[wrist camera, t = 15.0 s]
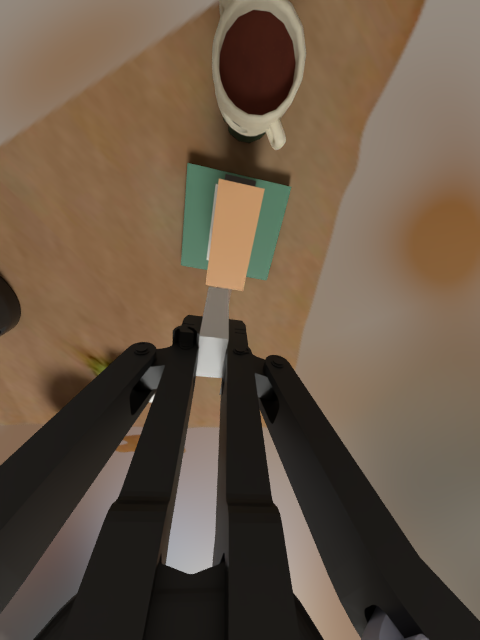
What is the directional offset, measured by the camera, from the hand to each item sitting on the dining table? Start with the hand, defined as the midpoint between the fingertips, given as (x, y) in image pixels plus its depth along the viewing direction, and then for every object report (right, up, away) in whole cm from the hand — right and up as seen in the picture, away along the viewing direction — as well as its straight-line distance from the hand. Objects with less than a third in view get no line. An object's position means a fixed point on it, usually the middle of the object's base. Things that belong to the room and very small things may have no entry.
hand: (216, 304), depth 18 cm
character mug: (+3, +25, +11) cm, 27 cm away
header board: (+1, +13, +17) cm, 21 cm away
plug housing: (0, +10, +15) cm, 18 cm away
